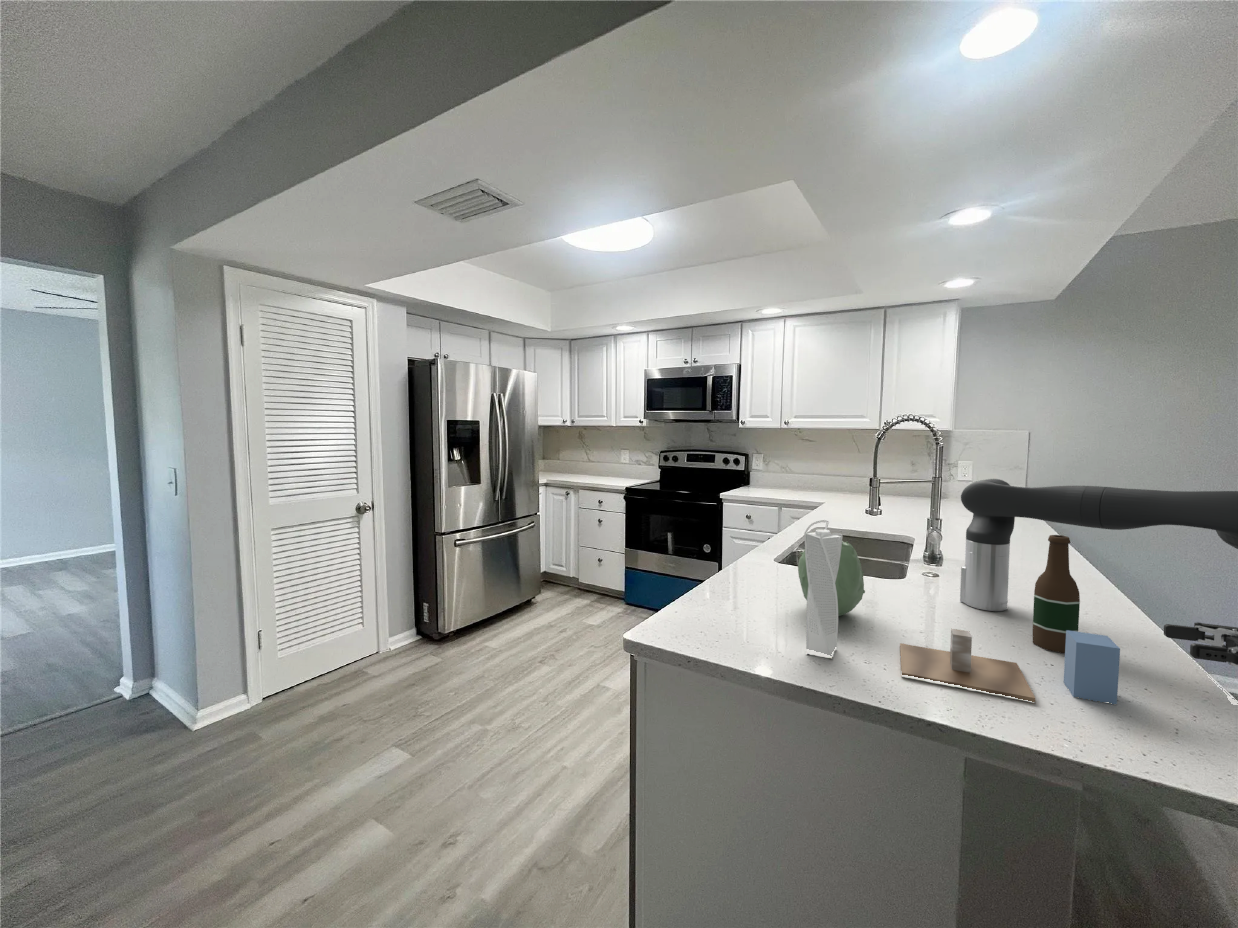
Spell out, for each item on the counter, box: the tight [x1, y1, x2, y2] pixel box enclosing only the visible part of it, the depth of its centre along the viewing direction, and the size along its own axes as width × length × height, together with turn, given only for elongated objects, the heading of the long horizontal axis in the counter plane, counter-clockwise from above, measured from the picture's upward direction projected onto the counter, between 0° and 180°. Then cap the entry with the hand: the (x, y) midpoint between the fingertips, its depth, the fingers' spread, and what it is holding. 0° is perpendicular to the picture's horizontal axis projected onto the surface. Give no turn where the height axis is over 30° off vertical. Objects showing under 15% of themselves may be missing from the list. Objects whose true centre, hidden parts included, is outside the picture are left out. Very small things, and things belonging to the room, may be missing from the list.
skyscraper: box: [804, 519, 843, 656], centre depth 105 cm, size 8×8×28 cm
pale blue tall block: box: [1063, 630, 1121, 705], centre depth 88 cm, size 6×6×10 cm
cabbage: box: [797, 540, 866, 617], centre depth 126 cm, size 16×19×20 cm
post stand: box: [899, 628, 1036, 703], centre depth 96 cm, size 20×14×8 cm
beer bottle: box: [1031, 534, 1081, 654], centre depth 105 cm, size 8×8×24 cm
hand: (1177, 640), depth 82 cm, fingers open, 8 cm apart
